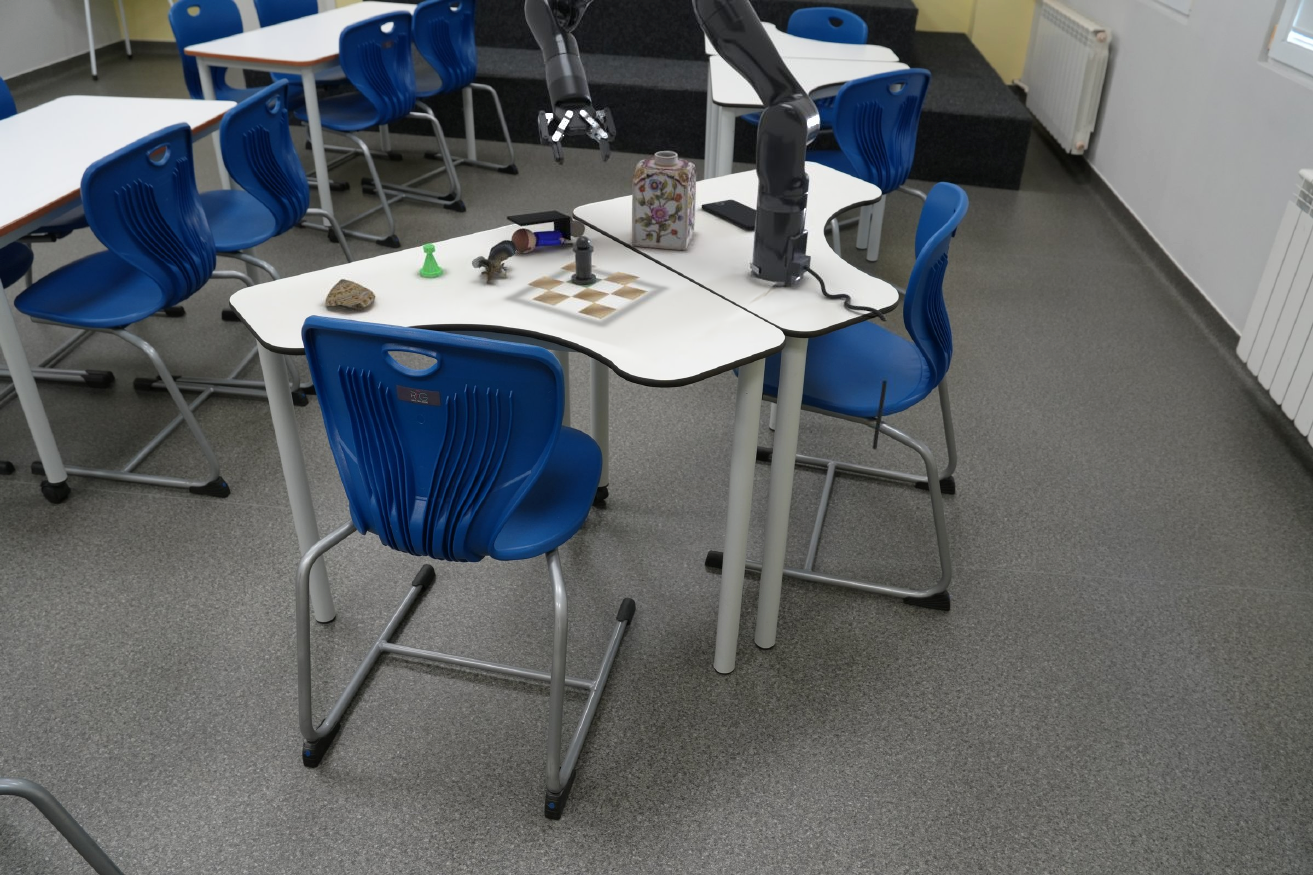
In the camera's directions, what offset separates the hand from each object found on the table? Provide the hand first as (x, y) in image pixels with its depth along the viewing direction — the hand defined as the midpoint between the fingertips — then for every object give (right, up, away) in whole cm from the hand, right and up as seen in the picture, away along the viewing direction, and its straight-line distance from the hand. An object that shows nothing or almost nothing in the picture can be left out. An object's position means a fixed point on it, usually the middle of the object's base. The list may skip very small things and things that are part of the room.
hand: (583, 161), depth 182 cm
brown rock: (-40, -28, -10) cm, 50 cm away
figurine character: (-9, -13, +17) cm, 23 cm away
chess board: (+1, -25, -3) cm, 25 cm away
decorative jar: (+15, -10, +23) cm, 29 cm away
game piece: (-29, -21, +3) cm, 36 cm away
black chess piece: (0, -22, -1) cm, 22 cm away
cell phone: (+32, -2, +37) cm, 49 cm away
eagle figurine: (-17, -21, +3) cm, 27 cm away
